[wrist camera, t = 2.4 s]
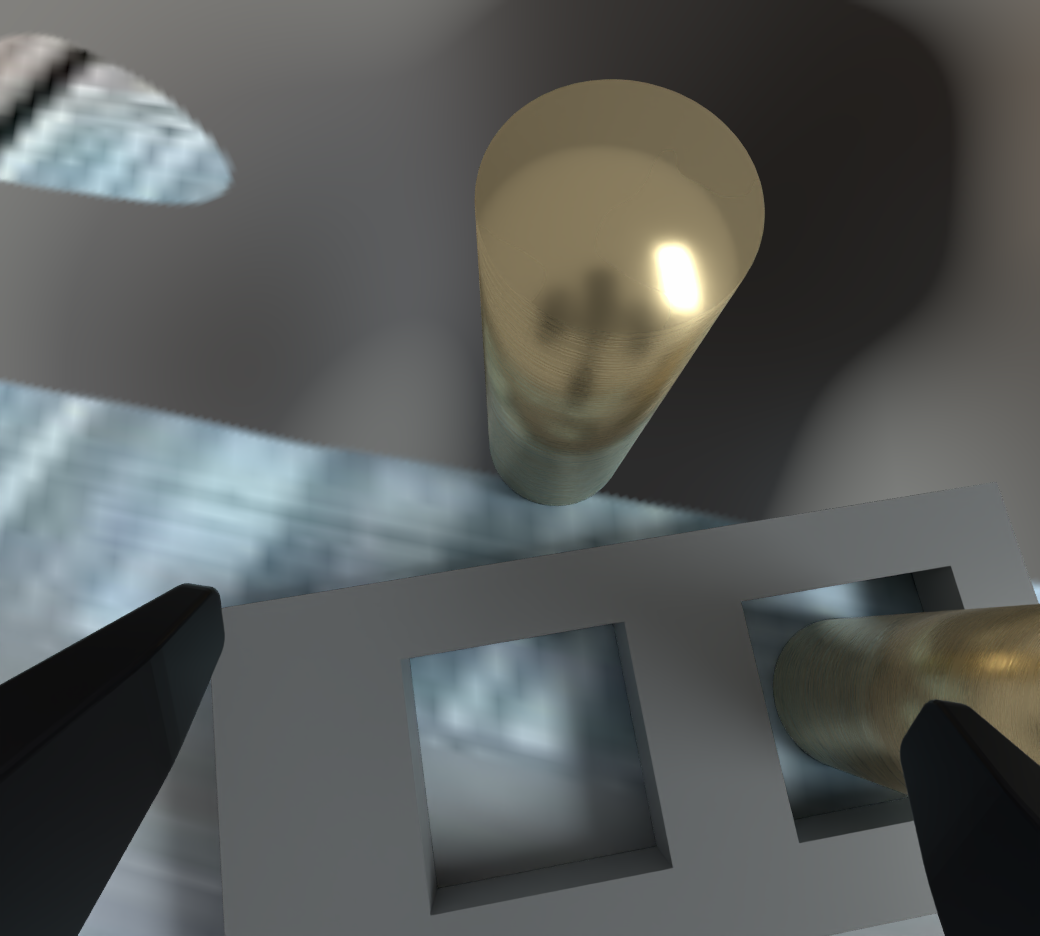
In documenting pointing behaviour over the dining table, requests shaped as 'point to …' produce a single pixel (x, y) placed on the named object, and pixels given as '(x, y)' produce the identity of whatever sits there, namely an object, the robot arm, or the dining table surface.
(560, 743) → the dining table surface
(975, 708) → the cylinder
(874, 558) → the frame
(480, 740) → the dining table surface
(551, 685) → the dining table surface
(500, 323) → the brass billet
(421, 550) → the dining table surface
